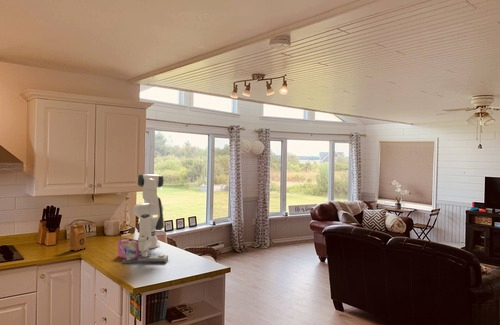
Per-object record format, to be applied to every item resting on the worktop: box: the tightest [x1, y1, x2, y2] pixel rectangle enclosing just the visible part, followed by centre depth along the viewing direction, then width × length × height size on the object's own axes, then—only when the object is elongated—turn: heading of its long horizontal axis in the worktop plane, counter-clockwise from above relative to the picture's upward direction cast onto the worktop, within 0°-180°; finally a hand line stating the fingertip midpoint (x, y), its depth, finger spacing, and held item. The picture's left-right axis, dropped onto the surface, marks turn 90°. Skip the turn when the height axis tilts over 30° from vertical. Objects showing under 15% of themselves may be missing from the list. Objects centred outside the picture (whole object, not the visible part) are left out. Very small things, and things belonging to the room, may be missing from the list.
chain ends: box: [121, 254, 169, 265], centre depth 276 cm, size 9×32×5 cm, turn 89°
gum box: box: [117, 237, 142, 259], centre depth 290 cm, size 24×8×14 cm, turn 57°
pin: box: [143, 248, 149, 258], centre depth 277 cm, size 4×4×10 cm
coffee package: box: [69, 223, 87, 252], centre depth 316 cm, size 10×12×22 cm
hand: (145, 254), depth 276 cm, fingers open, 8 cm apart
